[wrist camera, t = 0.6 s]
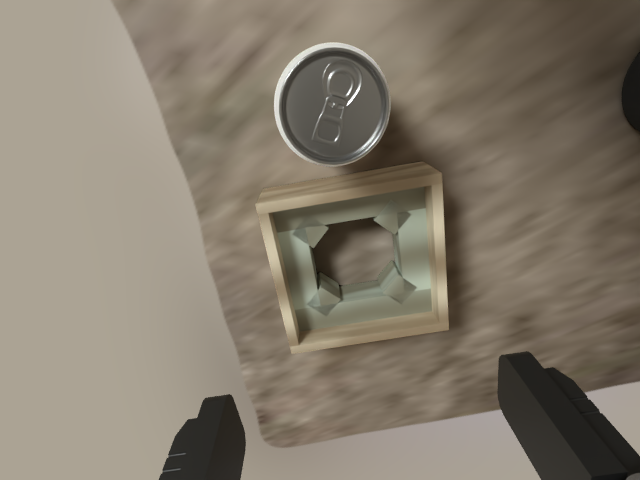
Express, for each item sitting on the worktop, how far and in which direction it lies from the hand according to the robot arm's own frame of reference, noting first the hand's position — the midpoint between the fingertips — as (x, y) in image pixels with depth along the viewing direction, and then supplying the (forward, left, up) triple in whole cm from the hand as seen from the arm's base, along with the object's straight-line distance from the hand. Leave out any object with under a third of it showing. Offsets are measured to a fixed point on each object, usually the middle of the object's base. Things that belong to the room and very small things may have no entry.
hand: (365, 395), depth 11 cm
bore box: (+5, +1, -23) cm, 24 cm away
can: (-8, +1, -23) cm, 25 cm away
